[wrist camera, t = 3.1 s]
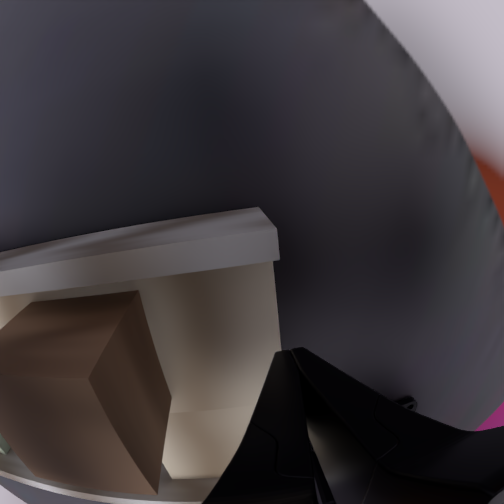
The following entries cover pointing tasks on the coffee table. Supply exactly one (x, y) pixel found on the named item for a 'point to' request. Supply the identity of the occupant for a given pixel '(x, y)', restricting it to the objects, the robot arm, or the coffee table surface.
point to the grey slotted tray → (171, 330)
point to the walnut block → (85, 393)
